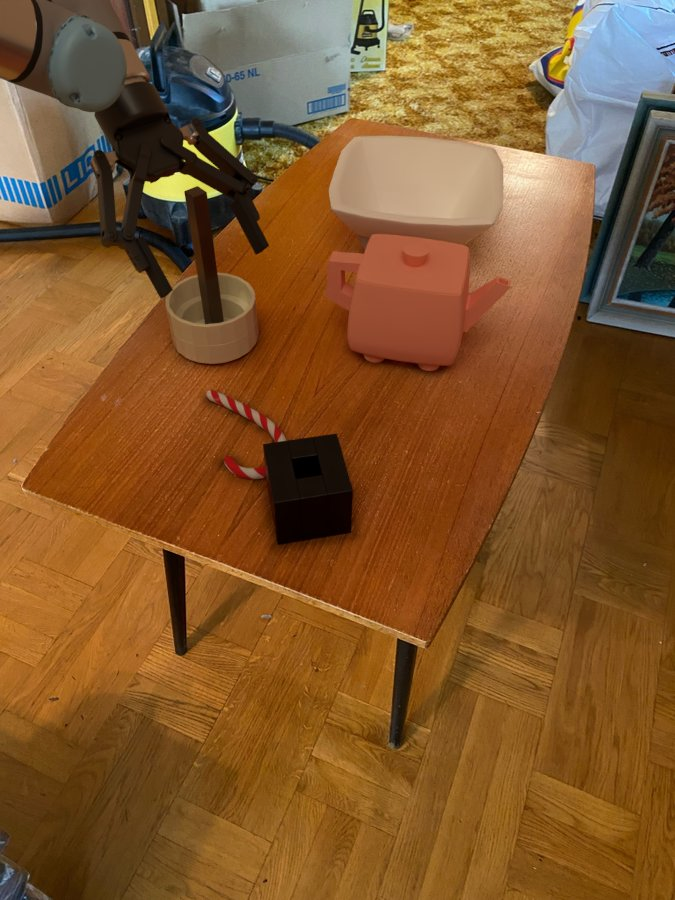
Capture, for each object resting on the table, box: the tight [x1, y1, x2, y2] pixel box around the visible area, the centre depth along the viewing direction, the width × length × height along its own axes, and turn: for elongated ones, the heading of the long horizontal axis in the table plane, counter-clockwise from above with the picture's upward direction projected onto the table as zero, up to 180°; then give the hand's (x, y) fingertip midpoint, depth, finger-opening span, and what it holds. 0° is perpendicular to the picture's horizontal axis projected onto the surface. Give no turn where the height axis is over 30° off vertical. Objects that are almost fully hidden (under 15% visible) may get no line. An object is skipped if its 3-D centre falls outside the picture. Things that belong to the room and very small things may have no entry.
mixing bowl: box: [164, 272, 260, 365], centre depth 90 cm, size 11×11×6 cm
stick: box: [183, 185, 224, 324], centre depth 85 cm, size 2×2×20 cm
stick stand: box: [262, 433, 354, 546], centre depth 72 cm, size 8×8×7 cm
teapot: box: [325, 234, 512, 372], centre depth 88 cm, size 22×13×14 cm, turn 78°
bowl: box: [328, 134, 504, 252], centre depth 106 cm, size 24×25×10 cm
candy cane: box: [205, 389, 287, 480], centre depth 81 cm, size 8×1×15 cm
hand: (216, 271), depth 83 cm, fingers open, 13 cm apart
